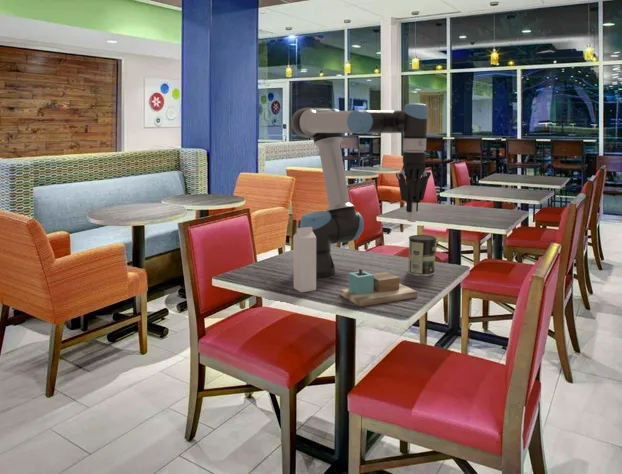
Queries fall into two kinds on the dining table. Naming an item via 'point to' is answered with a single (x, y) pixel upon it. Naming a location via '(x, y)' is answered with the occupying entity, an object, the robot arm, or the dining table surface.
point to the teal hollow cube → (361, 283)
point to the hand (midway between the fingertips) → (411, 221)
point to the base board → (379, 295)
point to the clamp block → (385, 282)
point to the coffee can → (422, 255)
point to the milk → (304, 259)
